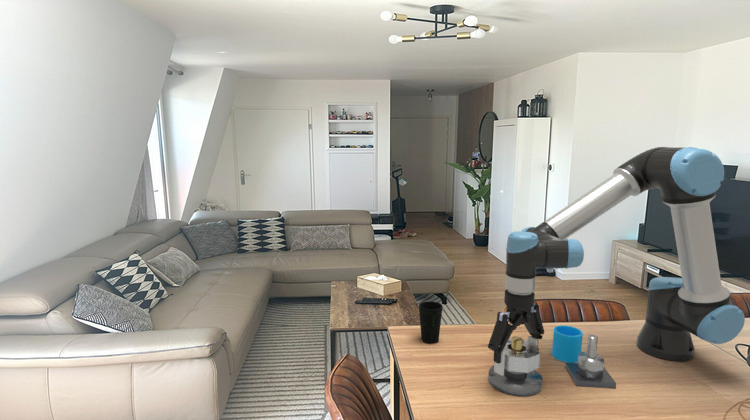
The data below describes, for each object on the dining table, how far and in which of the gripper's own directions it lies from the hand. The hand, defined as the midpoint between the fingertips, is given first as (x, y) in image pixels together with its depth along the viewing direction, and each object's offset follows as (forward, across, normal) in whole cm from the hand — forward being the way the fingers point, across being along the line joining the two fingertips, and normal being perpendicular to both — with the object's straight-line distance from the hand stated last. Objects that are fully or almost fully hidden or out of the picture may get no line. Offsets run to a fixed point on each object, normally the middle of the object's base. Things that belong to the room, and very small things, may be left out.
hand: (515, 366), depth 121 cm
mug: (+5, -26, -3) cm, 27 cm away
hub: (+5, 0, 0) cm, 5 cm away
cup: (+5, +3, -32) cm, 33 cm away
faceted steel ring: (-1, 0, 0) cm, 1 cm away
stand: (+5, -19, +10) cm, 22 cm away
